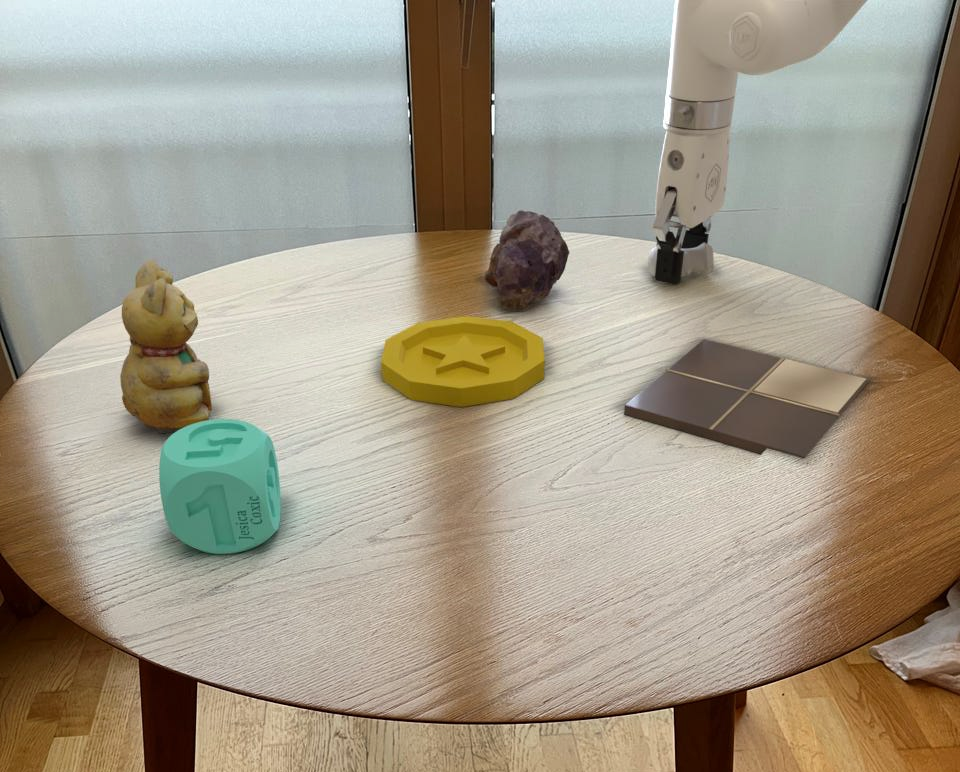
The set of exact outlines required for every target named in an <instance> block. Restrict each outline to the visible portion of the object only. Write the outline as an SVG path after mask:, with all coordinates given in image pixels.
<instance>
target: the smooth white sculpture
mask: <svg viewBox="0 0 960 772" xmlns="http://www.w3.org/2000/svg"><path fill="white" fill-rule="evenodd" d="M657 250H658V249H657V247H656V246H655V247H653V248H652V249H651V250H650V252H649V253H648V257H647V268H648V270H649V272H650V274H651V275H652V276H653V277H655V270H656V260H657ZM681 250H683V251H684V256H683V265H682V273H681V278H682V277H687V276H690V275H691V273H692V272H696V273H698V274H700V276H702V277H707V276H708V275H710V274H711V273H713V271H714V262H715V261H714V259H715V257H714V249H713V247H712V245H710V244H709V243H708V244H707V243H705V242H704V243H702V244H701V245H700V246H698V247H695V248H689V249H681Z"/></svg>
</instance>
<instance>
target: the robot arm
mask: <svg viewBox="0 0 960 772" xmlns="http://www.w3.org/2000/svg"><path fill="white" fill-rule="evenodd" d="M867 1H868V0H675V1H674V9H673V19H672V29H671V40H670V50H669V61H668V72H667V81H666V82H667V83H666V93H665V102H664V113H663V114H664V115H663V124H662V127H663V129H664V130H666V131H665V135H664V140H663V146H662V152H661V157H660V164H659V169H658V175H657V176H658V177H657V185H656V192H655V193H656V194H655V203H654V204H655V205H654V217H655V219H654V222H653V224H652V225H653V226H652V231H653V233H654V236H655V240H656V245H655V247H657V249H658V250H657V260H656V270H655V276H654V280H655V281H656V282H659V283H665V284H669V285H674V286H678V285H679V284H680V283H681V281H682V277H681V273H682V265H683V256H684V251H683V250H681V249H689V248H695V247H698V246H700V245H701V244H702V243H704V242H705V243H707V244H708V245H709V236H710V235H709V234H710V231H711V228H712V216H713V215H715V214H716V213H718V212H719V211H720V210H721V209H722V208H723V206H724V204H725V198H726V190H727V179H728V169H729V156H730V130H731V129H732V120H733V114H734V113H733V112H734V106H735V98H736V92H737V85H738V78H739V77H738V76H739V73H740V74H742V75H747V76H748V75H749V76H762V75H766V74H769V73H772V72H776V71H778V70H781V69H784V68H786V67H788V66H791V65H795V64H798V63H801V62H803V61H804V62H805V61H807V60H809V59H812V58H813V57H815V56H817V55H818V54H819V53H820V52H822V51H823V50H825V48H827V47H828V46H829V45H830V44H831V43H832V42H833V41H834V40H835V39H836V38H837V37H838V35H840V33H841V32H842V31H843V30H844V29H845V28H846V26H847V25H848V24H849V23H850V22H851V20H852V19H853V18H854V17H855V16H856V14H858V12H859V11H860V10H861V9H862V8H863V6H864V5H865V4H866V3H867ZM672 217H675V218H678V220H679V221H673V220H671V219H672ZM671 228H673V229H677V232H676V235H675V233H674V232H673V231H670V229H671Z"/></svg>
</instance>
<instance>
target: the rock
mask: <svg viewBox="0 0 960 772" xmlns="http://www.w3.org/2000/svg"><path fill="white" fill-rule="evenodd" d="M498 242H499V243H497V244H496V245H495V246H494V247H493V249H492V253H491V255H490V257H489V266H488V269H487V270H486V271H484V275H483V278H484V280H485V282H486V283H487V284H488V285H490V286H491V287H492V288H497V292H498V293H497V294H498V295H497V305H498V306H499V307H500V308H503V309H505V310H508V311H510V312H511V311H513V312H525V311H527V310H529V308H531V307H532V306H534V305H535V304H536V301H538V300H540V299H545V298H548V297H549V295H550V293H551V290H552V288H553V286H554V285H555V284H556V283H557V281H559V280H560V279H561V277H562V275H563V274H564V272H565V269H566V265H567V262H568V259H569V255H570V249H569V247H568V244H567V243H566V241H565V239H564V238H563V236H562V234H561V231H560V230H559V229H558V227H557V226H556V225H555V222H554V221H553V220H551V218H549V217H547V216H546V215H544V214H538V213H537V212H534V211H528V210H527V211H525V210H523V209H521V210H518V211H517V212H516V213H513V214H510V216H509V217H508V218H507V220H506V224H505V225H504V226H503V227H502V230H501V232H500V236H499V240H498Z"/></svg>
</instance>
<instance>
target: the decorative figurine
mask: <svg viewBox="0 0 960 772" xmlns="http://www.w3.org/2000/svg"><path fill="white" fill-rule="evenodd" d="M173 283H174V277H173V275H172V273H171V272H170V271H169V270H168V269H167V268H164V267H161V266H159V267H158V263H157V260H156V259H148V260H147V261H145V262H144V263H143V264H142V265H141V266H140V267H139V269H138V270H137V273H136V275H135V288H133V289H132V290H131V291H130V292H129V293H128V294H126V296H125V298H124V299H123V302H122V304H121V319H122V323H123V326H124V329H125V330H126V332H127V334H128V336H129V342H130V346H129V350H128V354H127V355H126V357H125V358H124V360H123V362H122V367H121V371H120V375H119V377H120V387H121V391H122V395H121V401H122V404H123V406H124V408H125V410H126V411H127V412H128V413H129V414H130V415H131V416H132V417H134V418H136V419H137V420H138V421H139V422H140V423H142V424H144V426H146V427H148V426H149V427H154V428H155V429H156V432H157V434H165V433H171V432H172V433H173V432H176V431H178V430H180V429H182V428H184V427H186V426H188V425H191V424H194V423H198V422H202V421H207V420H210V415H211V413H210V411H213V405H212V398H211V397H212V396H211V391H210V384H209V380H210V369H209V365H208V364H207V363H206V362H205V361H203V360H201V359H200V358H199V359H198V356H197V354H196V353H195V351H194V350H193V348H192V347H191V346H190V344H188V343H187V342H188V341H189V340H190V339H191V338H192V336H193V335H194V334H195V331H196V330H197V328H198V325H199V318H198V315H197V312H196V310H195V304H194V302H193V301H192V300H191V299H189V298H188V297H187V296H186V295H185V293H184V292H183V291H182V290H181V289H180V288H179V287H178V286H175V285H173Z"/></svg>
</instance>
